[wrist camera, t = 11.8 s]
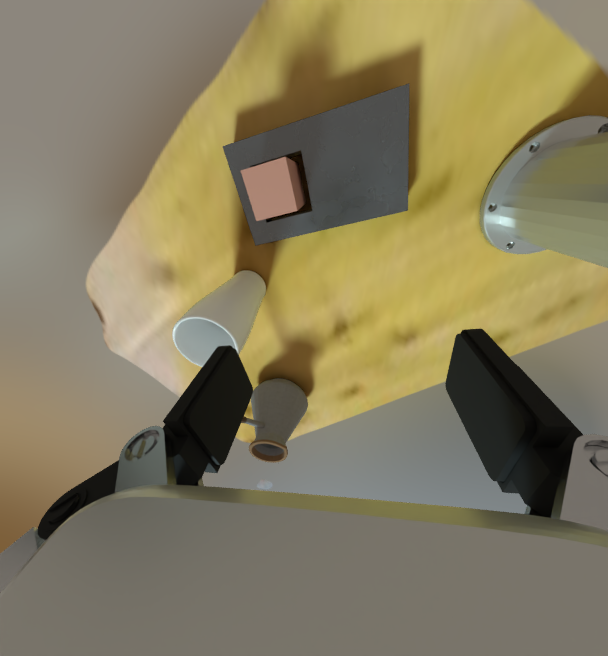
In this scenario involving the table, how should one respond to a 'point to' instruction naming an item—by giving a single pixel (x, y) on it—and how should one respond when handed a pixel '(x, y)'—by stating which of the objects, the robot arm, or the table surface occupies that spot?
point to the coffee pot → (275, 417)
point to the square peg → (274, 188)
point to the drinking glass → (220, 318)
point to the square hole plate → (335, 164)
